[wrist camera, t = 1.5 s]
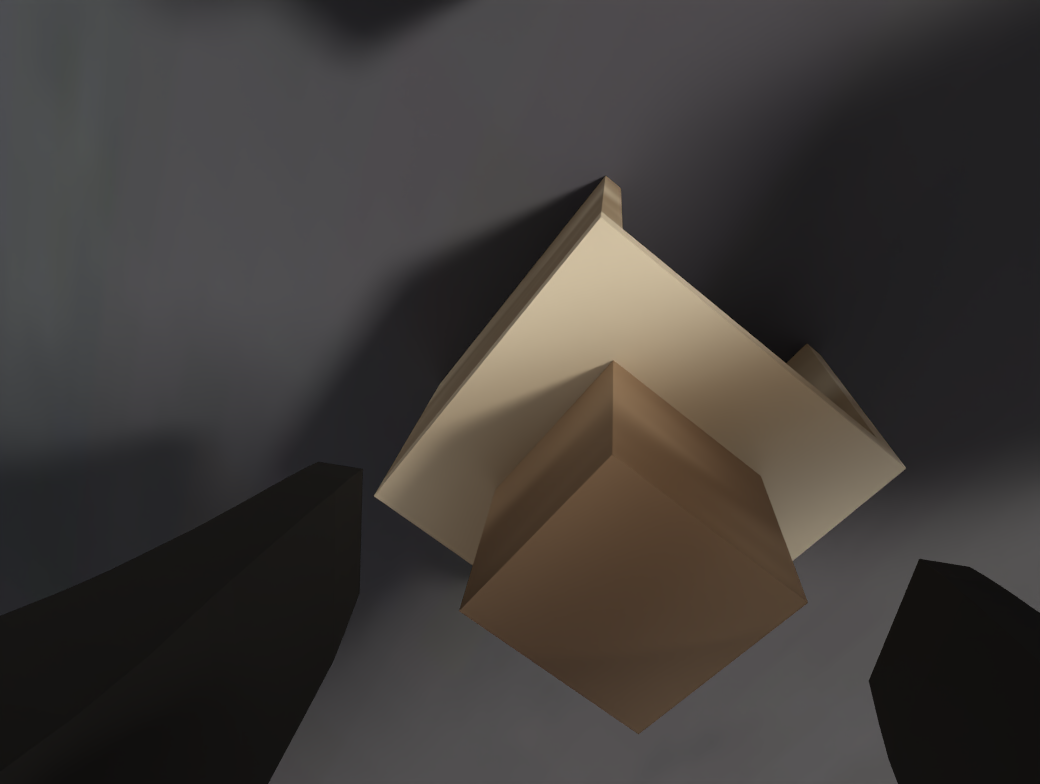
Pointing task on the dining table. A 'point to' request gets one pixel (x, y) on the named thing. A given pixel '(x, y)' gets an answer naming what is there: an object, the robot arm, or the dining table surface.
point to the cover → (631, 472)
